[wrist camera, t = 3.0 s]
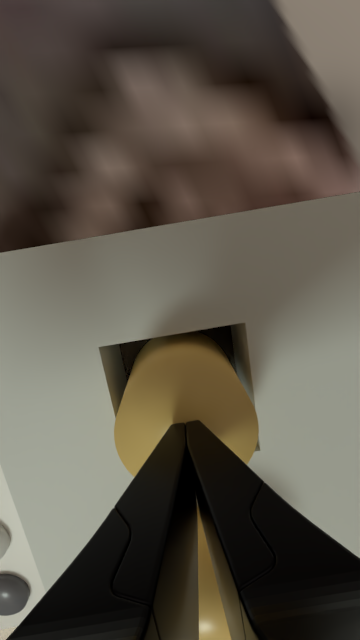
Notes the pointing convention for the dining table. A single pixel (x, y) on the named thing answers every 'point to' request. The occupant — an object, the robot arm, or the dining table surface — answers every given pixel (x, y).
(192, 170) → the dining table surface
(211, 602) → the button
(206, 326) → the board
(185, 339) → the button
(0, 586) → the card
